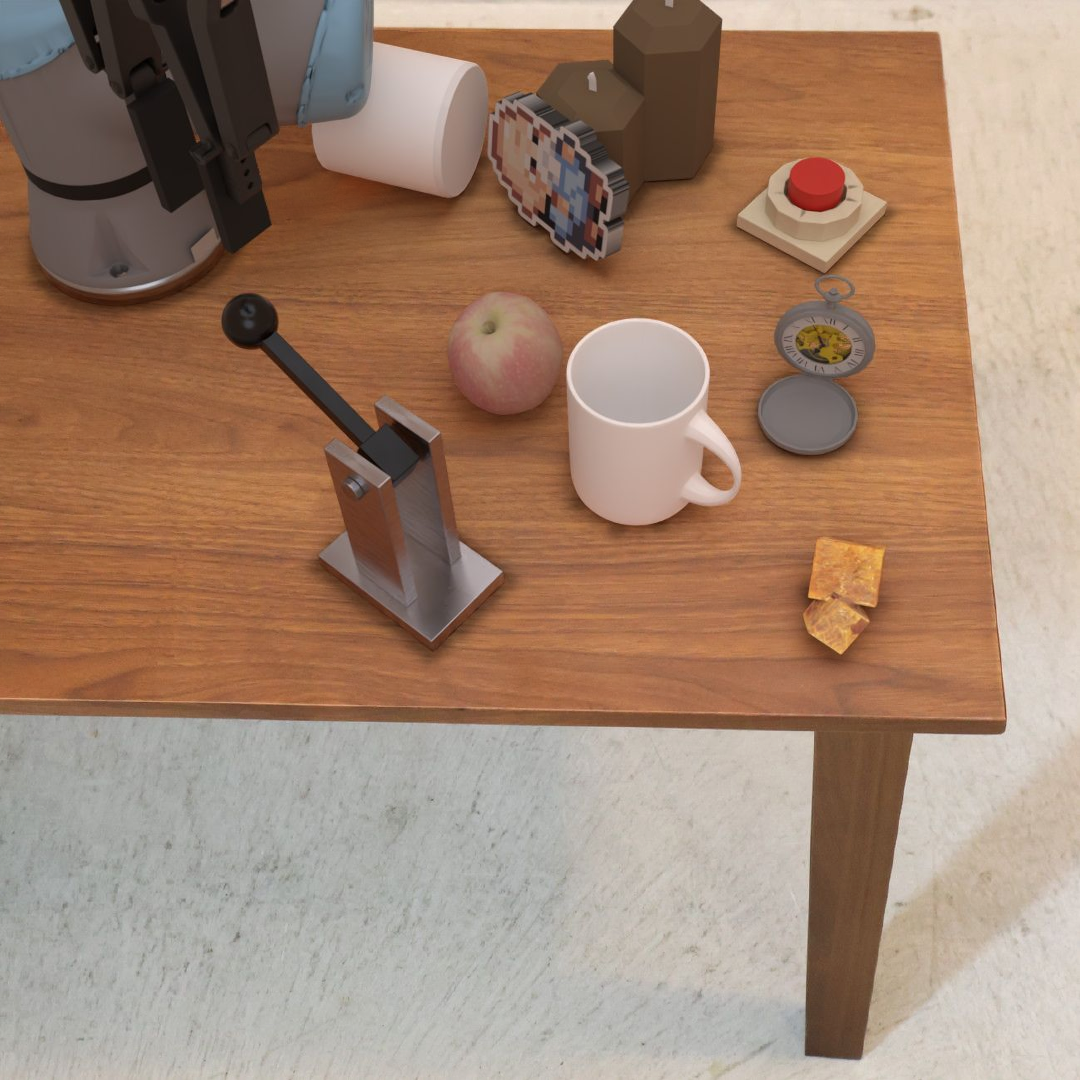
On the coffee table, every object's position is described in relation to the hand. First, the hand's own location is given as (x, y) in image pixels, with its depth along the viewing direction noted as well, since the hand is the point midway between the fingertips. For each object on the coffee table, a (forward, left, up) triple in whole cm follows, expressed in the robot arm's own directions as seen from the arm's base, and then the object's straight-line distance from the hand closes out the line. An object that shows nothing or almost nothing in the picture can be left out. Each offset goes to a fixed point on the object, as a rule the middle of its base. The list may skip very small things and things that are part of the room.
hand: (216, 215), depth 72 cm
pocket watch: (+22, +27, -25) cm, 43 cm away
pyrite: (+32, +15, -25) cm, 43 cm away
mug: (+18, +15, -25) cm, 34 cm away
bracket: (+10, 0, -25) cm, 27 cm away
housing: (+12, +42, -25) cm, 50 cm away
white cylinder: (-12, +30, -20) cm, 38 cm away
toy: (-3, +29, -25) cm, 38 cm away
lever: (+4, 0, -12) cm, 12 cm away
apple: (+5, +15, -25) cm, 29 cm away
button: (+11, +42, -22) cm, 49 cm away
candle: (-4, +39, -25) cm, 47 cm away
